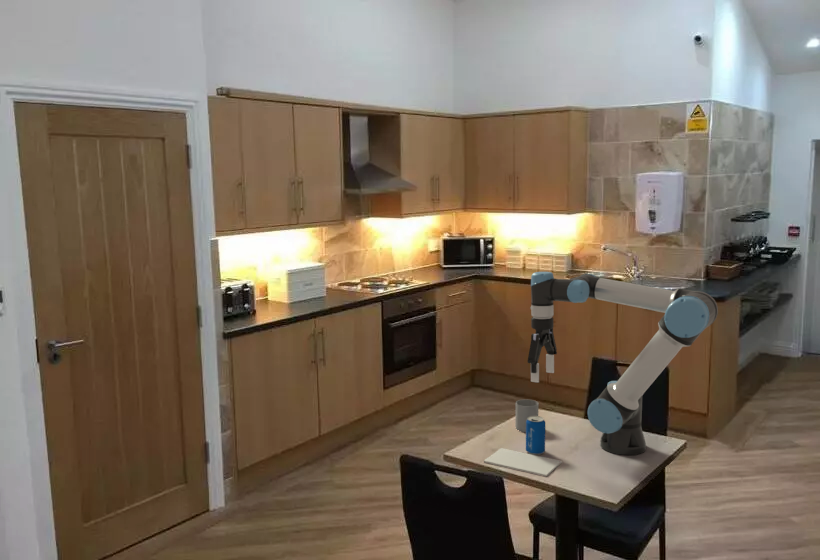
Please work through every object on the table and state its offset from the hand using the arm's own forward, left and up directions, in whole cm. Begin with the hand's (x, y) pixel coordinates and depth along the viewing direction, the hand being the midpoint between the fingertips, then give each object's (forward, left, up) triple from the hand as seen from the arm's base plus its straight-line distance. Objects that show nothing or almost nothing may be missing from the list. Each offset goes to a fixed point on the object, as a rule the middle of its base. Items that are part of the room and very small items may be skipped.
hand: (542, 377), depth 248 cm
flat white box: (-1, +18, -24) cm, 31 cm away
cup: (+11, -12, -25) cm, 30 cm away
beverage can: (-1, +8, -25) cm, 26 cm away
